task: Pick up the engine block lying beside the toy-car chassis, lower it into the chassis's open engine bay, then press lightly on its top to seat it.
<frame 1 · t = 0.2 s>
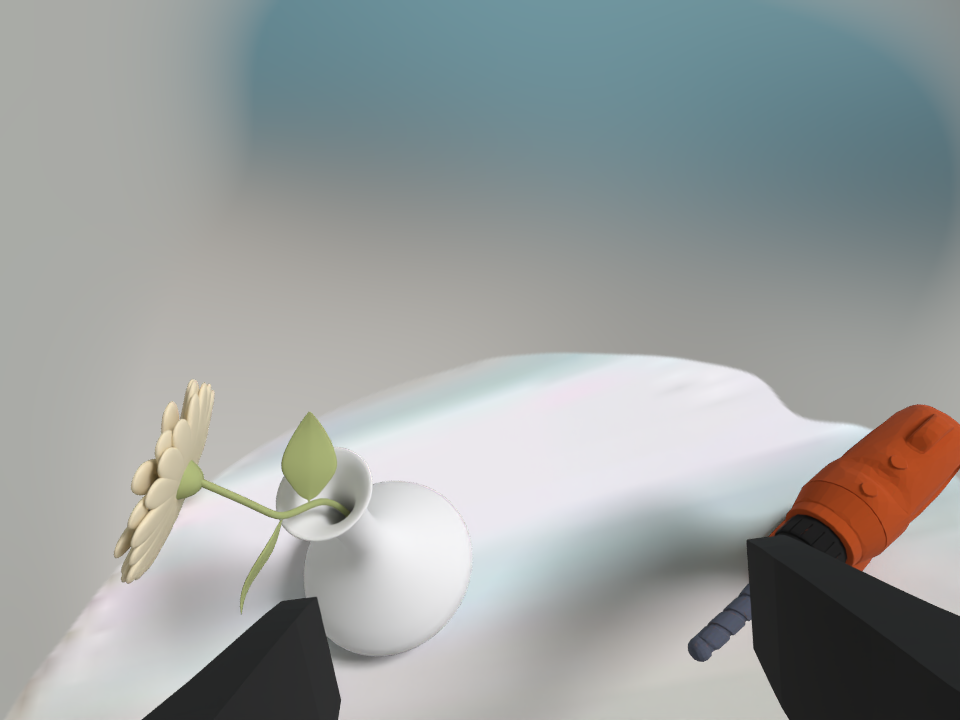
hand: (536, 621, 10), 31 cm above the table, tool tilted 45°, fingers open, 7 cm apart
toy drill: (768, 596, 39), on the table
flower in vase: (388, 581, 43), on the table
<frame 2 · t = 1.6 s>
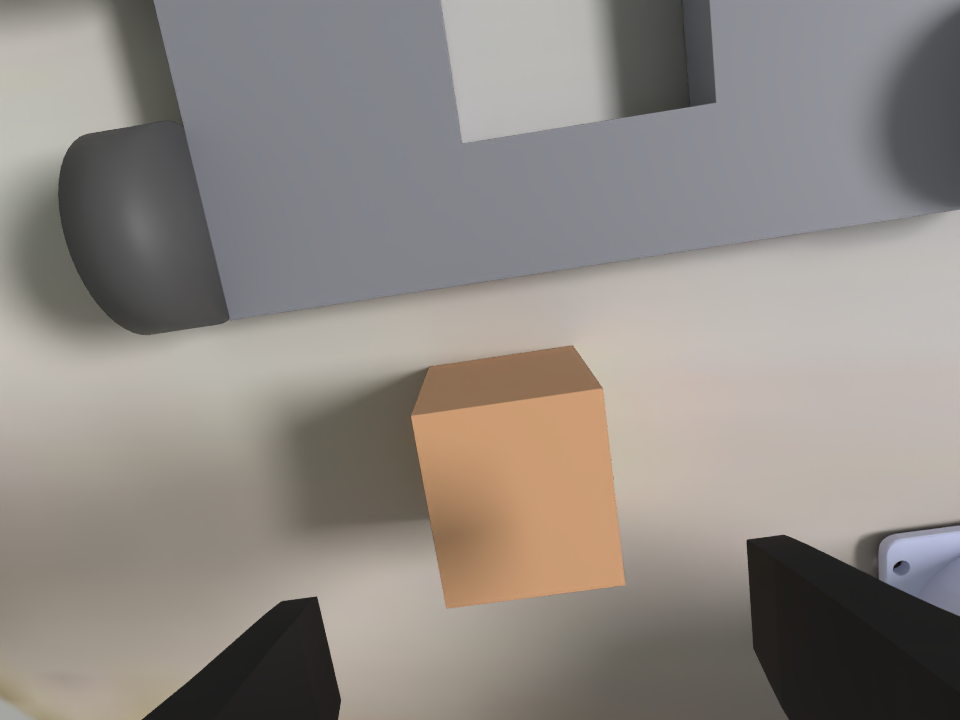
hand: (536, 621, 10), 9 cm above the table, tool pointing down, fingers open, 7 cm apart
engine block: (512, 432, 20), on the table
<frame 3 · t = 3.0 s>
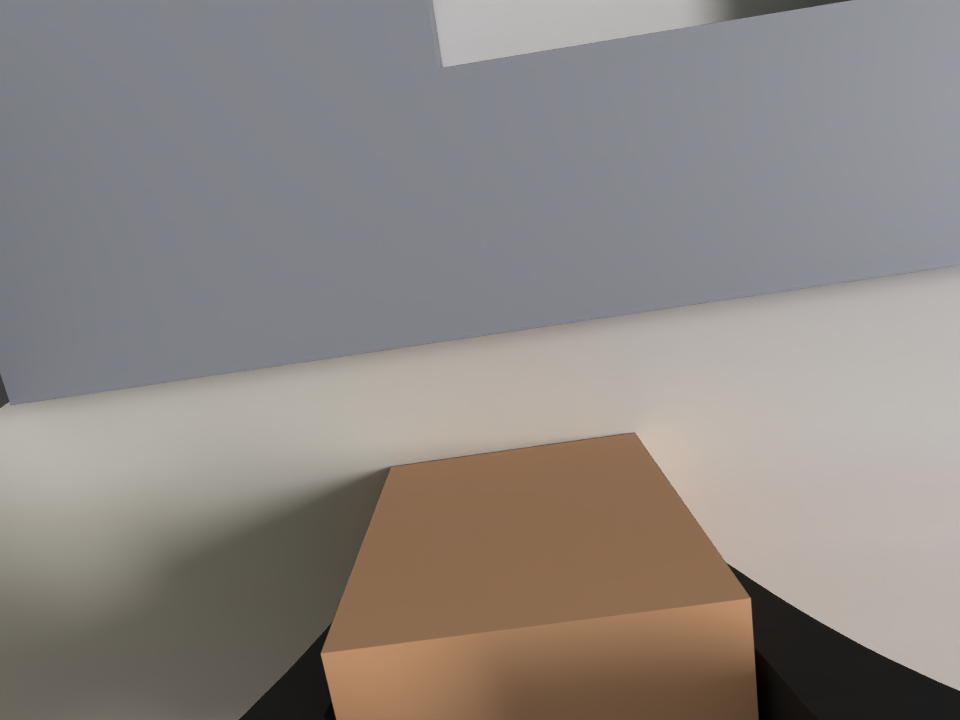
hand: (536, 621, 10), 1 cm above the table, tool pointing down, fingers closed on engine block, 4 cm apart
engine block: (530, 574, 12), on the table, touching gripper
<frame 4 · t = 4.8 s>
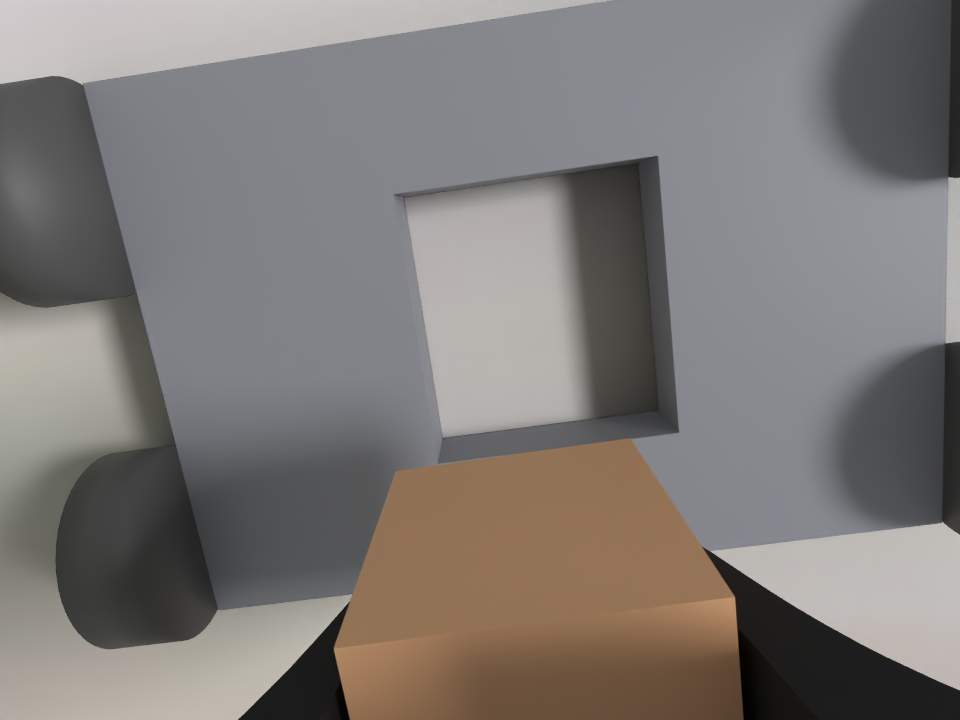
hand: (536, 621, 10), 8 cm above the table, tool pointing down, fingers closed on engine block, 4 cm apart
engine block: (529, 574, 12), point 7 cm above the table, touching gripper
chassis: (535, 307, 18), on the table
when the fingers open (3 cm above the table, at t = 6.6 s): engine block drops 1 cm, resting in chassis.
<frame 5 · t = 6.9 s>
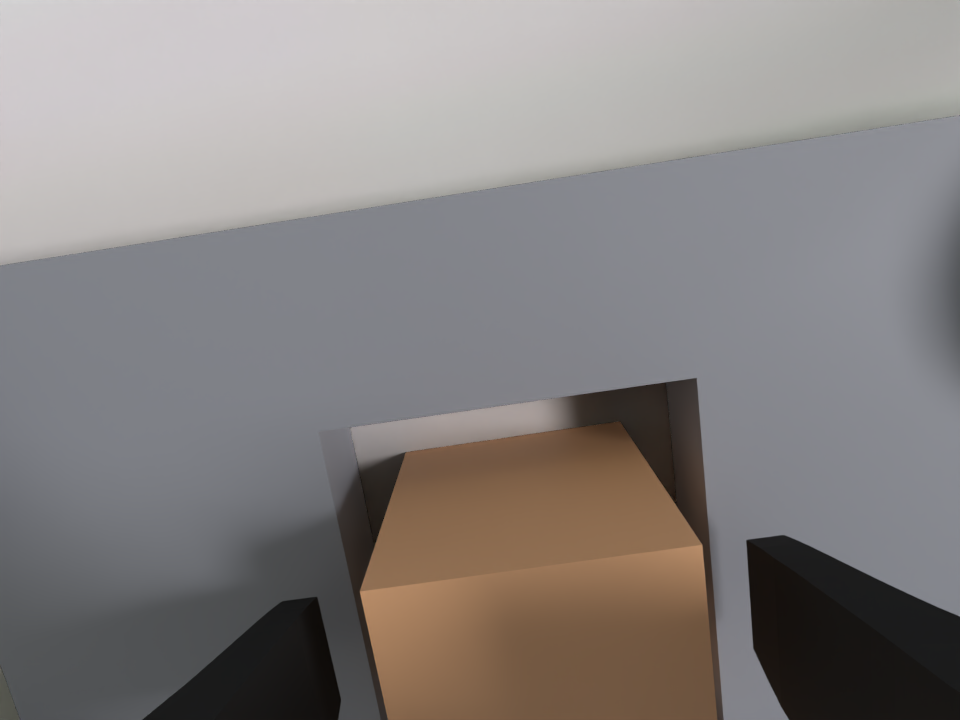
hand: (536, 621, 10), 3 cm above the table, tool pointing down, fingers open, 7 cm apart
engine block: (528, 545, 13), resting in chassis
chassis: (525, 535, 13), on the table
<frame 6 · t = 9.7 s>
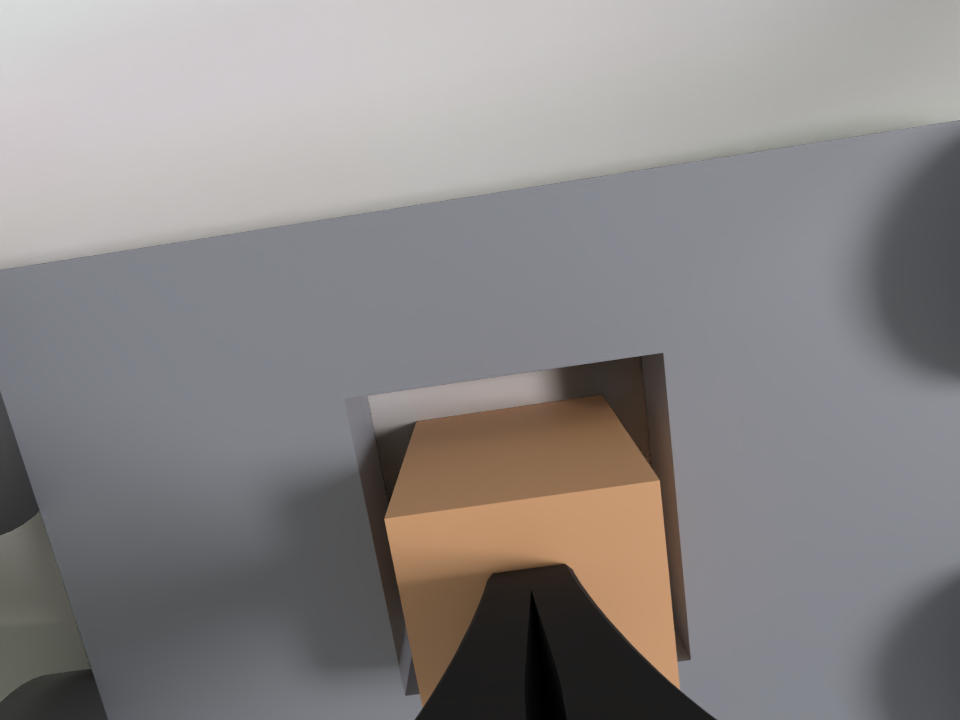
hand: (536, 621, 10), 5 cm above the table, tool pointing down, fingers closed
engine block: (523, 504, 15), resting in chassis
chassis: (520, 495, 15), on the table
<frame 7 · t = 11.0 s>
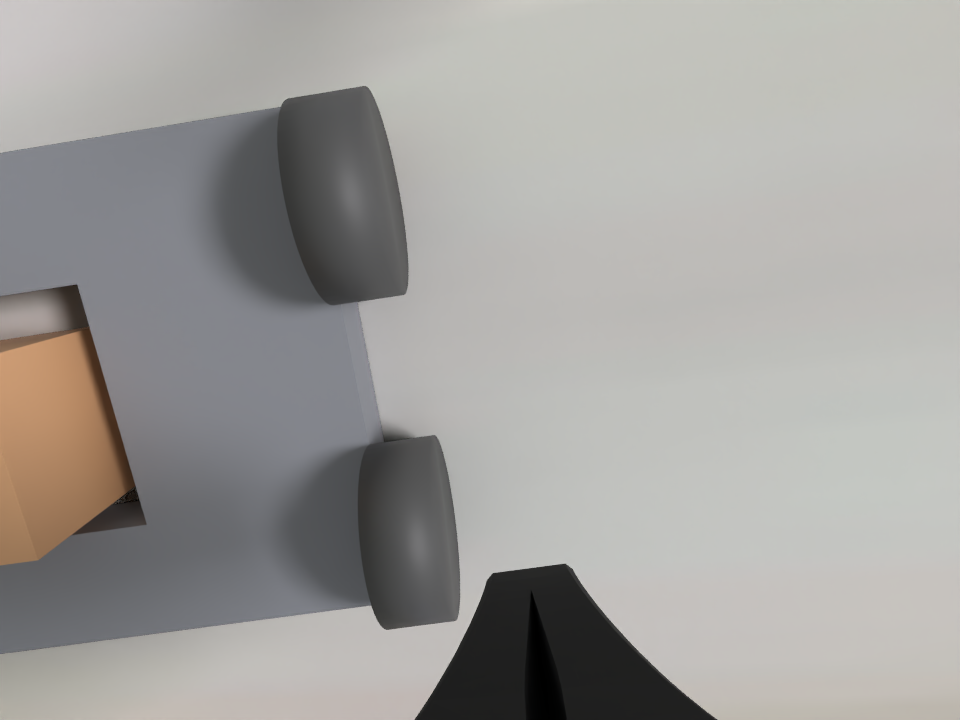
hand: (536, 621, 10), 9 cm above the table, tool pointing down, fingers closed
engine block: (57, 413, 20), resting in chassis
chassis: (50, 405, 20), on the table
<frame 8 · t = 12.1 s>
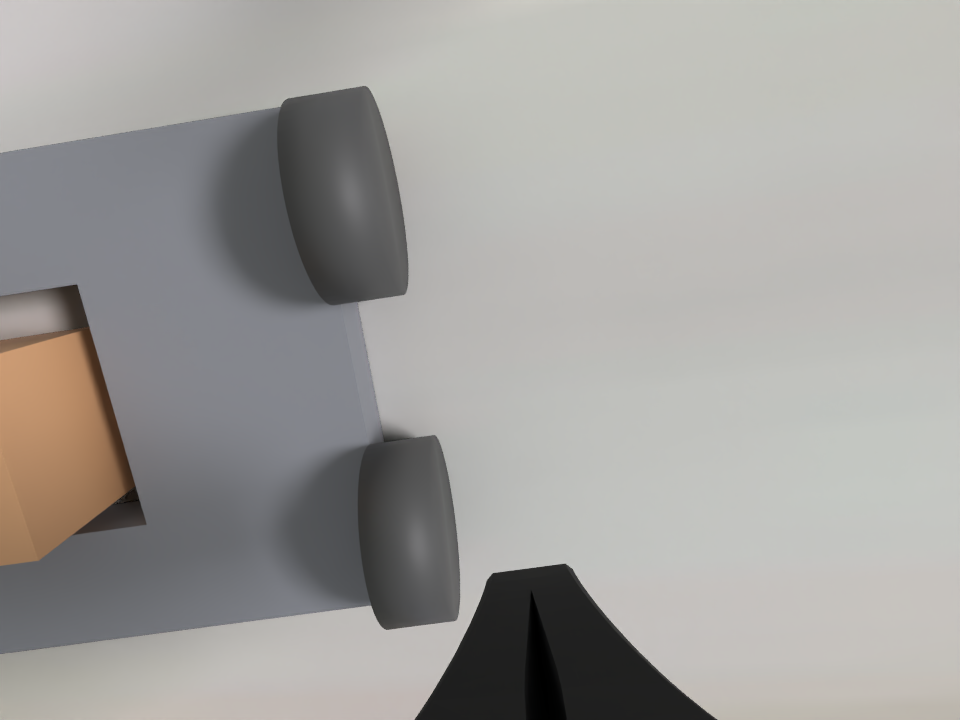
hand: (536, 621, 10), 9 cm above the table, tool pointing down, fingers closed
engine block: (57, 413, 20), resting in chassis
chassis: (50, 405, 20), on the table
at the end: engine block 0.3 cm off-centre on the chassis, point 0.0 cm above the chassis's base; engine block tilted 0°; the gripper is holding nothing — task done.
